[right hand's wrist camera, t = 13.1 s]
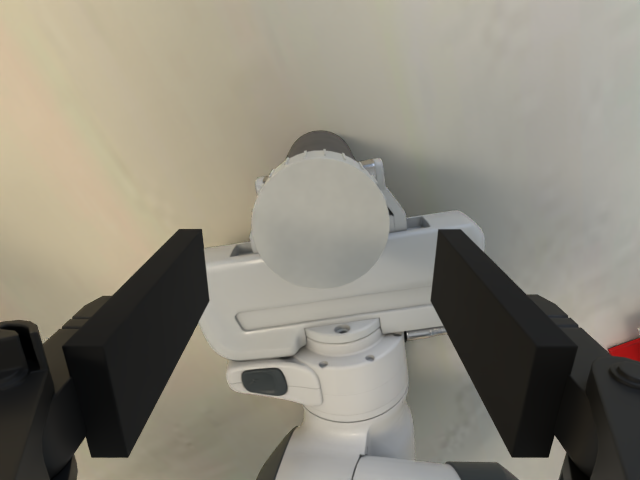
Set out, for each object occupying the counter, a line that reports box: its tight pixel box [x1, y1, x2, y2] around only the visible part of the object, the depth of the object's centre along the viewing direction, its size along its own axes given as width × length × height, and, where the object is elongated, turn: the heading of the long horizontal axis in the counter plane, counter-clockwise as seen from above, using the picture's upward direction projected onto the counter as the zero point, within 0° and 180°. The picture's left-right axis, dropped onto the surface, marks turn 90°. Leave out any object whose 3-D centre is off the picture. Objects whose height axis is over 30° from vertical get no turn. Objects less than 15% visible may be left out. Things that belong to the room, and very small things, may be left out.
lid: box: [251, 149, 390, 289], centre depth 19 cm, size 6×6×2 cm
